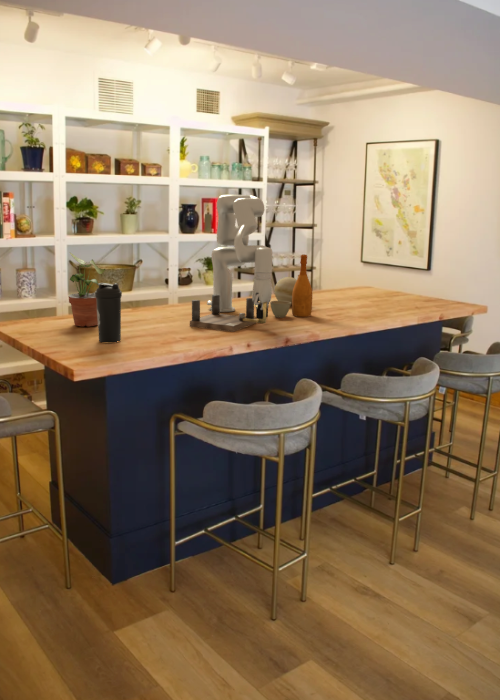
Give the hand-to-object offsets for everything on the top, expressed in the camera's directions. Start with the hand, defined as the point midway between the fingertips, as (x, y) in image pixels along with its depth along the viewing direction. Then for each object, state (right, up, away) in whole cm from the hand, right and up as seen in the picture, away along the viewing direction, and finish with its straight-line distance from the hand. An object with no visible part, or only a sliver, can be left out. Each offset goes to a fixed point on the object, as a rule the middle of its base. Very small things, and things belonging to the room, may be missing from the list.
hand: (262, 317), depth 287 cm
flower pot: (+9, +2, +31) cm, 32 cm away
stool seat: (-17, -3, +9) cm, 20 cm away
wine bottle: (+20, +2, +34) cm, 40 cm away
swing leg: (-4, -2, +3) cm, 5 cm away
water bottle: (-61, -11, -27) cm, 68 cm away
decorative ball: (+15, +10, +64) cm, 66 cm away
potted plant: (-77, -4, +1) cm, 77 cm away
